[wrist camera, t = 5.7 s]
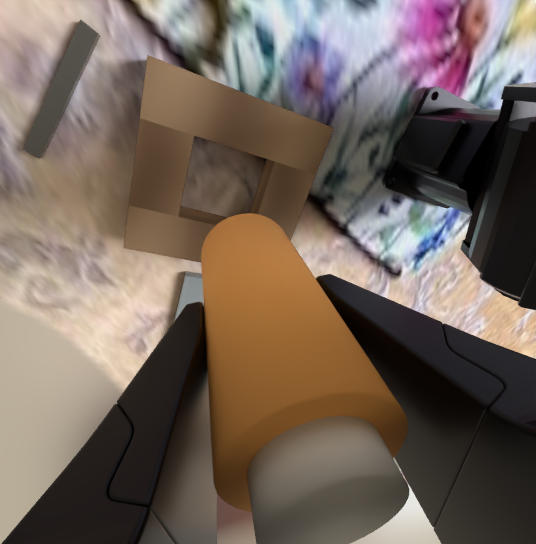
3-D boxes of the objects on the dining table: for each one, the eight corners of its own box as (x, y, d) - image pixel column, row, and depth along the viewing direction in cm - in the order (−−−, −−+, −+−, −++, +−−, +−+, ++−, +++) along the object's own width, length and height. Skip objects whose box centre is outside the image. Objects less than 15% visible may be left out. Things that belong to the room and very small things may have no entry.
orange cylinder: (302, 225, 11) (487, 447, 4) (273, 298, 12) (375, 556, 5) (213, 202, 10) (262, 453, 3) (192, 285, 11) (193, 588, 4)
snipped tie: (82, 21, 14) (80, 19, 14) (100, 35, 15) (98, 33, 14) (26, 148, 16) (22, 149, 16) (42, 157, 17) (39, 158, 16)
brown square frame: (321, 125, 19) (333, 128, 17) (270, 263, 23) (276, 276, 21) (152, 59, 16) (147, 55, 14) (129, 234, 20) (123, 247, 18)
